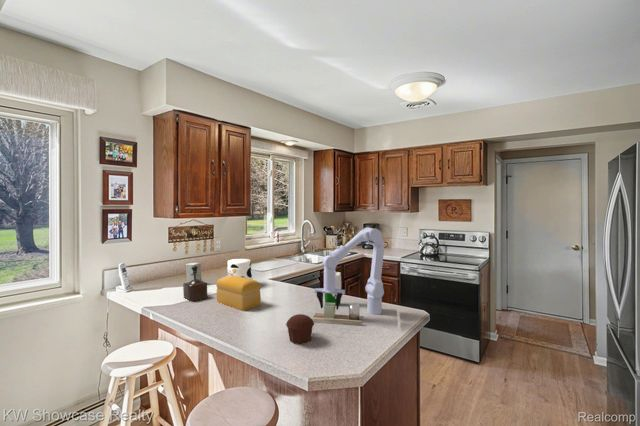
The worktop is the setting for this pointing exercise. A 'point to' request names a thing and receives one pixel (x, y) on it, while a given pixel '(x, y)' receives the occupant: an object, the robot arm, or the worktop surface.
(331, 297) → the milk carton
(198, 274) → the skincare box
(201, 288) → the pepper mill
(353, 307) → the metal can
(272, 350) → the worktop surface
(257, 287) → the bread
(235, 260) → the milk container
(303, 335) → the muffin
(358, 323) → the shelf board
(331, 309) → the tea box
